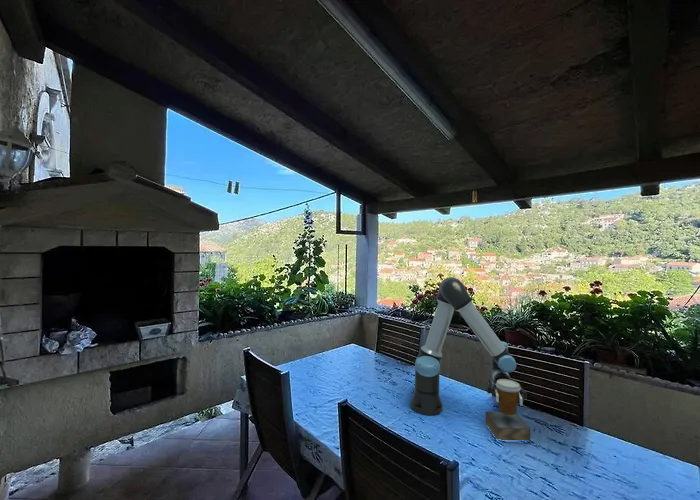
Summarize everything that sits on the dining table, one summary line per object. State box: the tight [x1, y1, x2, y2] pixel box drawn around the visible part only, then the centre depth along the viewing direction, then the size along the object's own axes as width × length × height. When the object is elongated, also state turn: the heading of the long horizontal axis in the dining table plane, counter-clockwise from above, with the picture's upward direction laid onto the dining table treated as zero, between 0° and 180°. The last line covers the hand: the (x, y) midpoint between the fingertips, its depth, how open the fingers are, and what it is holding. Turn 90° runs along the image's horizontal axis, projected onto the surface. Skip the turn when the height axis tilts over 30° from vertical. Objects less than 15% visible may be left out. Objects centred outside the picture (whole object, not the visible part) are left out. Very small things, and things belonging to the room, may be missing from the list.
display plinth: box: [485, 410, 531, 441], centre depth 138 cm, size 13×13×6 cm
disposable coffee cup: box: [496, 379, 521, 415], centre depth 138 cm, size 10×10×12 cm
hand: (509, 400), depth 133 cm, fingers closed on disposable coffee cup, 8 cm apart
